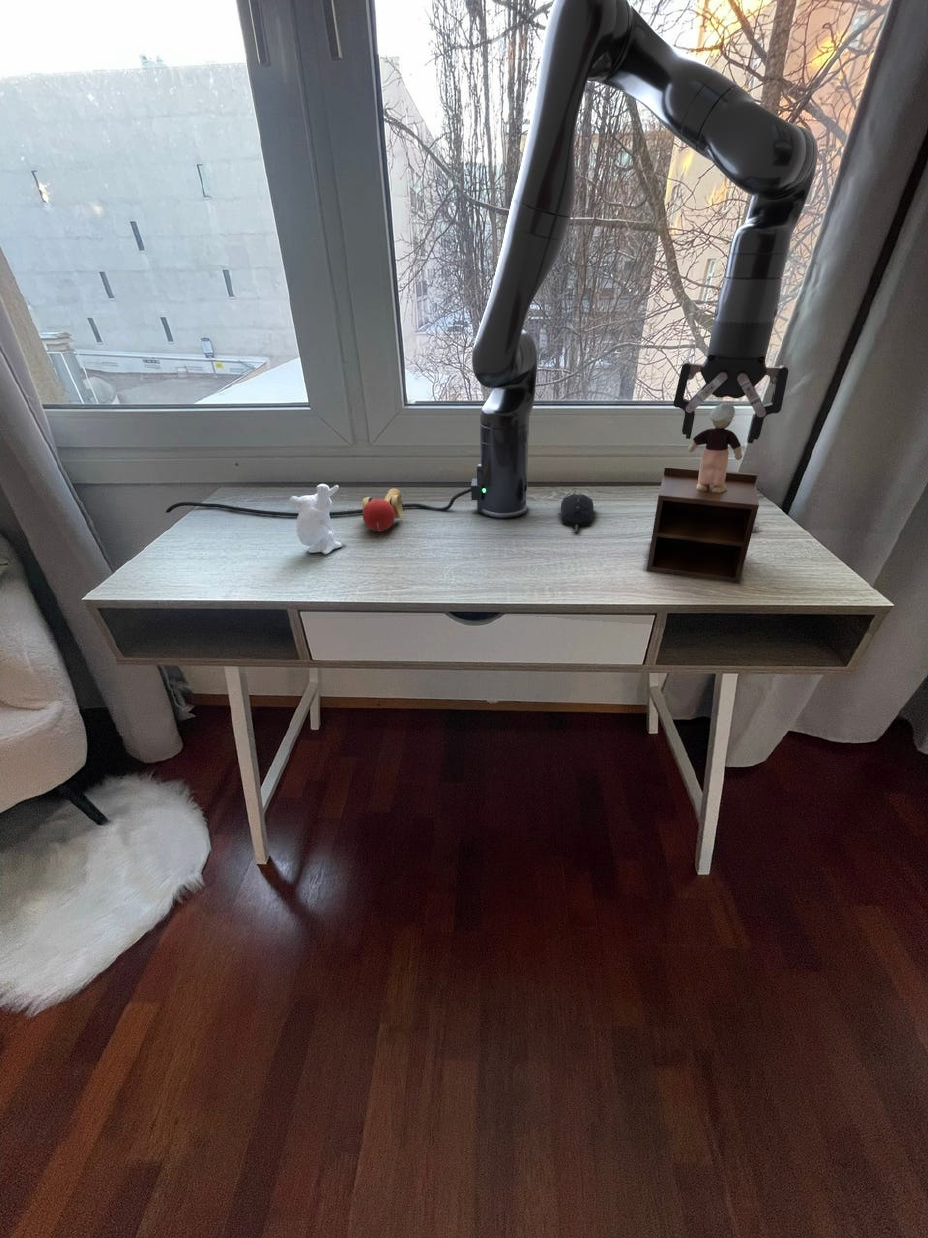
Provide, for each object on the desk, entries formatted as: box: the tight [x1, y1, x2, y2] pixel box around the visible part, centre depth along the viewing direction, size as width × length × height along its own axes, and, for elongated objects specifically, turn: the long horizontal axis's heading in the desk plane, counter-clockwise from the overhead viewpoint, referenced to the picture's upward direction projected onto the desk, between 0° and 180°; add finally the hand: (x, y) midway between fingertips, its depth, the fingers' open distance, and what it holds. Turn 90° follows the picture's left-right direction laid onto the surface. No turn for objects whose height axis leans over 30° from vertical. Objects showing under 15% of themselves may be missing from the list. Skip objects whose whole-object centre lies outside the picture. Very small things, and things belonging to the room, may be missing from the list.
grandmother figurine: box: [687, 402, 744, 493], centre depth 88 cm, size 8×4×13 cm, turn 70°
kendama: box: [362, 487, 404, 533], centre depth 116 cm, size 8×6×18 cm
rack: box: [646, 465, 760, 584], centre depth 95 cm, size 14×11×14 cm
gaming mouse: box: [560, 493, 594, 534], centre depth 114 cm, size 6×15×4 cm, turn 171°
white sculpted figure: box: [289, 483, 343, 555], centre depth 102 cm, size 8×7×12 cm
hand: (718, 439), depth 87 cm, fingers open, 8 cm apart
